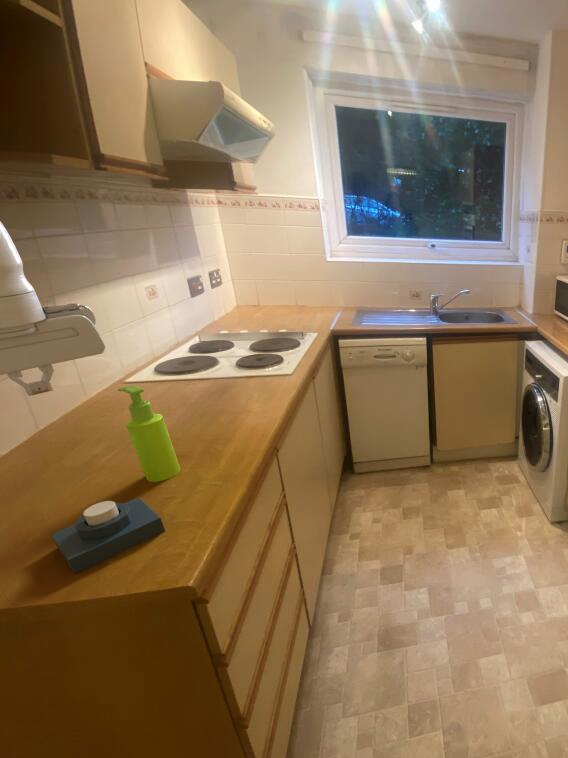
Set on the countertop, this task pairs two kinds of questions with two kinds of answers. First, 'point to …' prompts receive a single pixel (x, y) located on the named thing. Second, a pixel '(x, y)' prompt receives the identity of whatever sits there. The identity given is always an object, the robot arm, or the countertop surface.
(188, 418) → the countertop surface
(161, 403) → the countertop surface
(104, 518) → the button
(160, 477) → the soap dispenser
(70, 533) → the button housing
